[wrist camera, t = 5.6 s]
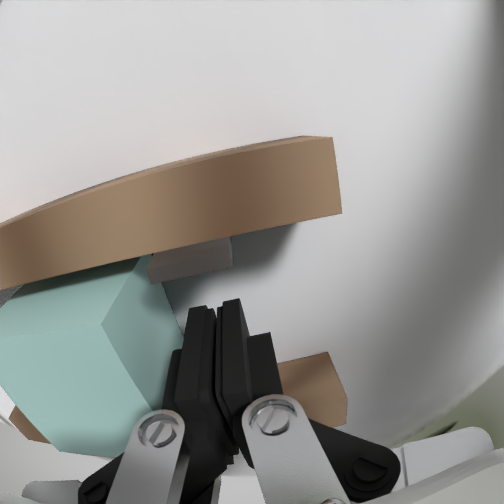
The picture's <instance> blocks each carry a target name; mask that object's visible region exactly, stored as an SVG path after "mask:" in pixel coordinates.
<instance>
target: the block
mask: <svg viewBox="0 0 504 504" xmlns="http://www.w3.org/2000/svg"><path fill="white" fill-rule="evenodd" d="M151 258H152V254H147V255H143V256H139V257H134V258H130V259H125V260H121V261H117V262H113V263H108V264H104V265H100V266H96V267H91V268H87V269H83V270H79V271H75V272H71V273H67V274H62V275H58V276H54V277H50V278H46V279H42V280H38V281H34V282H30V283H26V284H24V285H23V286H22V287H21V288H20V289H19V290H18V291H17V292H16V293H15V294H14V295H13V296H12V297H11V298H10V299H9V300H8V301H7V302H6V303H5V304H4V305H3V306H2V307H1V308H0V385H1V387H2V388H3V389H4V391H5V392H6V393H7V395H8V396H9V397H10V398H11V400H12V401H13V402H14V403H15V404H16V406H17V407H18V408H19V409H20V410H21V412H22V413H23V414H24V415H25V416H26V417H27V418H28V420H29V421H30V422H31V423H32V424H33V425H34V426H35V427H36V428H37V429H38V430H39V431H40V432H41V434H42V435H43V436H44V437H45V438H46V439H47V440H48V441H49V442H50V443H51V444H52V445H53V446H55V447H56V448H57V449H58V450H59V451H61V452H68V453H76V454H83V455H92V456H102V457H118V456H119V455H120V454H122V453H123V452H125V449H126V447H127V444H128V442H129V439H130V436H131V434H132V431H133V429H134V427H135V425H136V423H137V422H138V421H139V420H140V419H141V418H142V417H143V416H145V415H146V414H148V413H150V412H153V411H156V410H161V409H162V403H163V397H164V392H165V386H166V381H167V375H168V370H169V365H170V360H171V355H172V352H173V350H176V349H182V346H183V340H184V338H183V336H182V333H181V331H180V328H179V326H178V324H177V321H176V319H175V316H174V314H173V311H172V308H171V306H170V303H169V301H168V298H167V296H166V293H165V290H164V288H163V285H162V282H159V283H154V284H151V283H150V281H149V278H148V275H147V272H146V270H145V269H146V267H147V265H148V264H149V262H150V260H151Z"/></svg>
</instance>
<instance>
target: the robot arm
mask: <svg viewBox="0 0 504 504" xmlns="http://www.w3.org/2000/svg"><path fill="white" fill-rule="evenodd" d="M239 448H240V450H241V452H242V454H243V456H244V458H245V460H246V461H247V463H248V465H249V466H250V467H251V468H253V469H255V471H256V474H257V477H258V480H259V484H260V487H261V490H262V493H263V496H264V499H265V503H266V504H504V448H501V449H498V450H494V447H493V444H492V441H491V438H490V436H489V435H488V433H487V432H486V431H484V430H483V429H481V428H477V427H468V428H464V429H460V430H457V431H454V432H450V433H446V434H443V435H439V436H435V437H431V438H427V439H422V440H418V441H414V442H409V443H404V444H403V445H402V447H397V448H392V449H388V448H386V447H384V446H381V445H378V444H375V443H372V442H369V441H366V440H363V439H361V438H358V437H355V436H352V435H350V434H347V433H344V432H342V431H339V430H336V429H334V428H331V427H329V426H326V425H324V424H321V423H319V422H316V421H314V420H312V419H309V418H307V416H306V414H305V412H304V410H303V408H302V406H301V405H300V404H299V403H298V401H296V400H295V399H293V398H292V397H290V396H286V395H284V394H283V389H282V385H281V380H280V375H279V371H278V366H277V362H276V357H275V352H274V348H273V343H272V338H271V334H270V332H269V333H264V334H259V335H254V336H250V335H249V332H248V328H247V324H246V320H245V316H244V313H243V309H242V305H241V301H240V299H239V298H238V299H234V300H229V301H224V302H223V306H221V307H217V318H216V315H215V312H214V309H213V308H211V309H208V308H207V306H206V305H204V306H199V307H193V308H189V312H188V317H187V323H186V328H185V334H184V340H183V346H182V349H176V350H173V352H172V355H171V360H170V365H169V370H168V375H167V381H166V386H165V392H164V397H163V403H162V409H161V410H156V411H153V412H150V413H148V414H146V415H145V416H143V417H142V418H141V419H140V420H139V421H138V422H137V423H136V425H135V427H134V429H133V431H132V434H131V436H130V439H129V442H128V444H127V447H126V449H125V452H123V453H122V454H120V455H119V456H118V457H116V458H115V459H114V460H112V461H111V462H109V463H108V464H106V465H105V466H104V467H102V468H101V469H100V470H98V471H97V472H95V473H94V474H92V475H91V476H89V477H88V478H87V479H86V480H84V481H83V482H80V481H79V480H66V481H33V482H30V483H29V484H27V485H26V486H25V488H24V489H23V492H22V497H20V496H18V495H15V494H11V493H6V492H0V504H218V499H219V492H220V486H221V474H222V473H223V472H224V471H225V470H226V469H227V465H230V464H234V461H233V455H238V454H239Z"/></svg>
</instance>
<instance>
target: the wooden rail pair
mask: <svg viewBox="0 0 504 504" xmlns="http://www.w3.org/2000/svg"><path fill="white" fill-rule="evenodd" d="M337 214H342V207H341V197H340V189H339V180H338V172H337V165H336V158H335V151H334V144H333V138H332V137H318V136H298V137H292V138H286V139H279V140H273V141H268V142H262V143H257V144H251V145H246V146H241V147H236V148H231V149H227V150H222V151H217V152H213V153H209V154H204V155H200V156H196V157H192V158H188V159H184V160H180V161H176V162H172V163H168V164H164V165H161V166H157V167H154V168H150V169H147V170H143V171H140V172H136V173H133V174H130V175H126V176H123V177H120V178H117V179H114V180H111V181H107V182H104V183H101V184H98V185H95V186H93V187H90V188H87V189H84V190H81V191H78V192H76V193H73V194H70V195H67V196H65V197H62V198H60V199H57V200H54V201H52V202H49V203H47V204H44V205H42V206H39V207H37V208H34V209H32V210H30V211H27V212H25V213H23V214H20V215H18V216H16V217H14V218H11V219H9V220H7V221H5V222H3V223H0V290H3V289H7V288H11V287H15V286H18V285H22V284H26V283H30V282H34V281H38V280H42V279H46V278H50V277H54V276H58V275H62V274H67V273H71V272H75V271H79V270H83V269H87V268H91V267H96V266H100V265H104V264H108V263H113V262H117V261H121V260H125V259H130V258H134V257H139V256H143V255H147V254H152V253H154V255H153V256H152V258H151V260H150V262H149V264H148V265H147V267H146V269H145V270H146V272H147V275H148V278H149V281H150V283H151V284H154V283H159V282H164V281H169V280H174V279H179V278H184V277H189V276H194V275H199V274H204V273H209V272H214V271H218V270H223V269H228V268H233V260H232V239H231V236H234V235H239V234H243V233H248V232H253V231H258V230H262V229H267V228H272V227H277V226H282V225H287V224H292V223H297V222H302V221H307V220H312V219H317V218H322V217H327V216H332V215H337ZM277 366H278V371H279V375H280V380H281V385H282V389H283V394H284V395H286V396H290V397H292V398H293V399H295V400H296V401H298V403H299V404H300V405H301V406H302V408H303V410H304V412H305V414H306V416H307V418H309V419H312V420H314V421H316V422H319V423H321V424H324V425H326V426H329V427H331V428H333V427H336V426H340V425H343V424H346V415H347V396H346V394H345V391H344V389H343V386H342V384H341V382H340V379H339V377H338V374H337V372H336V370H335V367H334V365H333V363H332V360H331V358H330V356H329V353H328V352H325V353H321V354H317V355H313V356H309V357H305V358H301V359H296V360H292V361H287V362H283V363H278V364H277ZM9 420H10V421H11V422H12V423H13V424H14V425H15V426H16V427H17V428H18V429H19V430H20V432H21V433H22V434H23V435H24V436H25V437H26V438H27V439H28V440H33V441H38V442H43V443H49V444H51V443H50V442H49V441H48V440H47V439H46V438H45V437H44V436H43V435H42V434H41V432H40V431H39V430H38V429H37V428H36V427H35V426H34V425H33V424H32V423H31V422H30V421H29V420H28V418H27V417H26V416H25V415H24V414H23V413H22V412H21V410H20V409H19V408H18V407H17V406H16V405H15V407H14V409H13V411H12V413H11V415H10V417H9Z"/></svg>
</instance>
